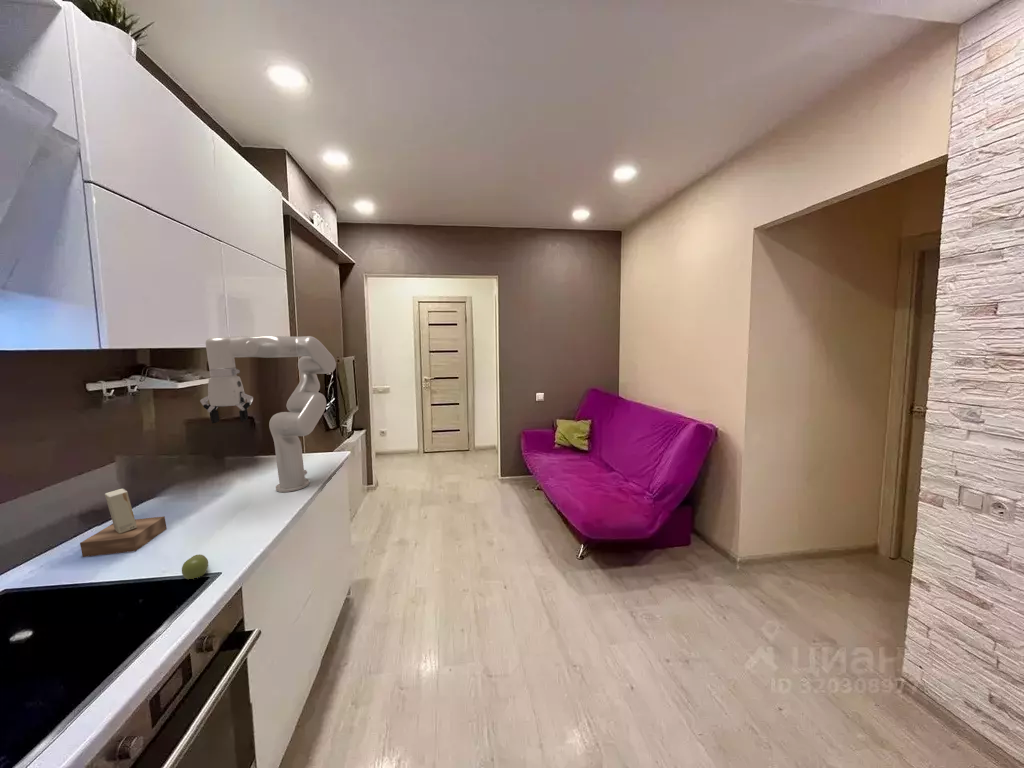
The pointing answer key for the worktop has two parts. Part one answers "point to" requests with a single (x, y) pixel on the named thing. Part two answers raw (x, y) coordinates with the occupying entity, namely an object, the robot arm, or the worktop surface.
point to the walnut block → (123, 538)
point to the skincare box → (120, 510)
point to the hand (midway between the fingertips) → (230, 421)
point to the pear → (195, 567)
